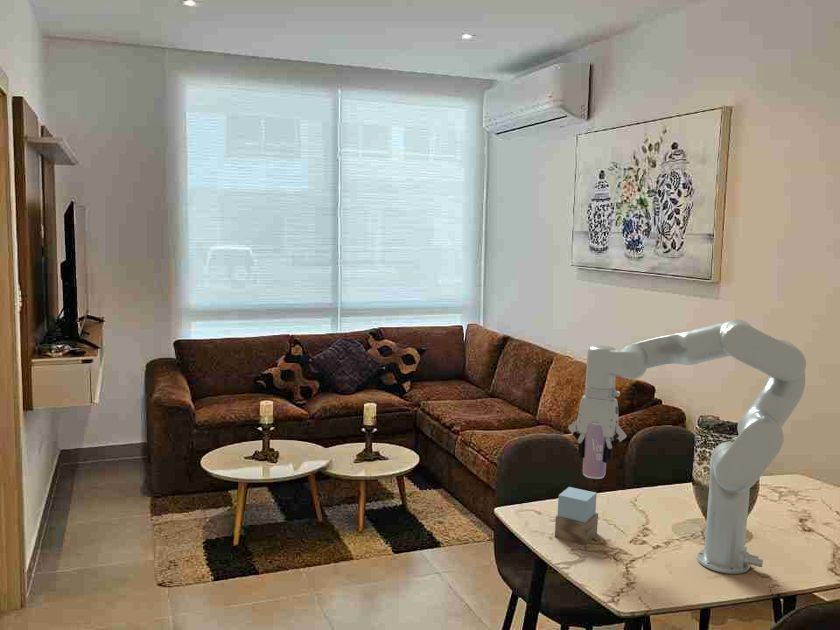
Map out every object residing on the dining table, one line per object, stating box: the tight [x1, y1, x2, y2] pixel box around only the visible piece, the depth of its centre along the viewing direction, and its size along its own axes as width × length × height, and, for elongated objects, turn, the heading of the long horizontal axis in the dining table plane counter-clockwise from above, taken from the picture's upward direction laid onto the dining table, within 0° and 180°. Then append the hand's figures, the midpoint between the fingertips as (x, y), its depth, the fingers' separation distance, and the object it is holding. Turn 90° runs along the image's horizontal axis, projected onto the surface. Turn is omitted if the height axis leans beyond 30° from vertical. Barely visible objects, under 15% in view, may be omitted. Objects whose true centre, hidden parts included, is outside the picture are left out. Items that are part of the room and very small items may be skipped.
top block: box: [557, 486, 598, 523], centre depth 211 cm, size 8×8×6 cm
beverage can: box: [582, 422, 607, 480], centre depth 203 cm, size 6×6×15 cm
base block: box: [554, 512, 599, 546], centre depth 212 cm, size 9×9×6 cm
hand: (594, 458), depth 203 cm, fingers closed on beverage can, 6 cm apart
